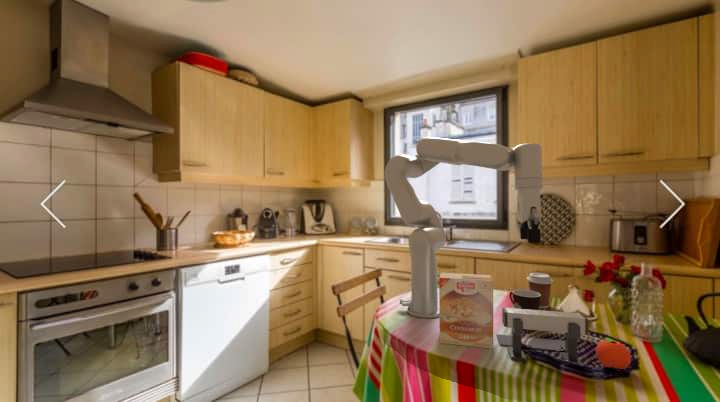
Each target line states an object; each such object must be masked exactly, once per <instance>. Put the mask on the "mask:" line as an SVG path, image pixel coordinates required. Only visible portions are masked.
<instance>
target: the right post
mask: <svg viewBox="0 0 720 402" xmlns="http://www.w3.org/2000/svg"><path fill="white" fill-rule="evenodd" d="M578 340H581V334H580V326H579V325H570V333H564V341H565V352H559V355H560V354H561V356H562V357H563V358H564V359H565V360H568V361H571V362H575V363H579V364H583V362H582V361H581V360H580V358H579V357H578V354H577V350H578ZM561 356H560V357H561ZM583 365H584V364H583Z"/></svg>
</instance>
